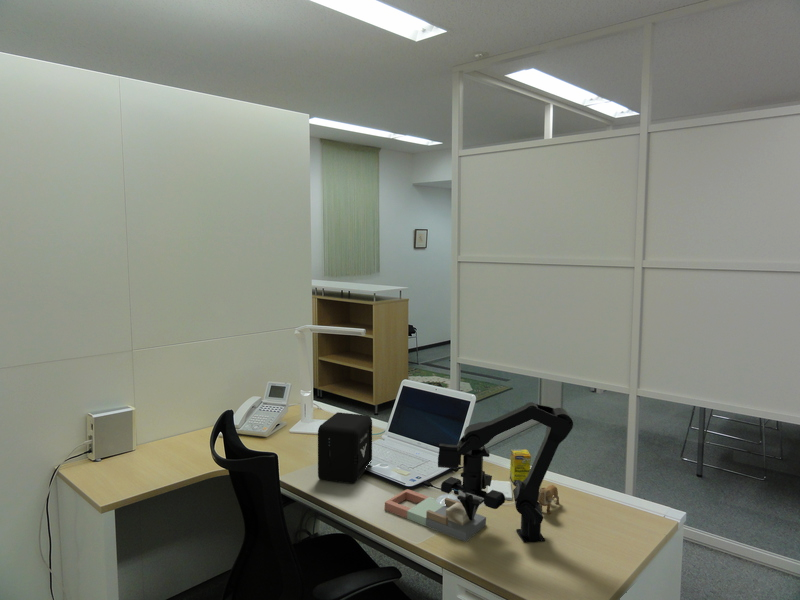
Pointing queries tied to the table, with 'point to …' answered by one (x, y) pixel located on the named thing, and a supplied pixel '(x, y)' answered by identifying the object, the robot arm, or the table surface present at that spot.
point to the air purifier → (344, 447)
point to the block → (457, 514)
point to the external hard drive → (501, 488)
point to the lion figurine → (548, 497)
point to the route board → (434, 514)
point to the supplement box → (519, 465)
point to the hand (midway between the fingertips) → (471, 519)
